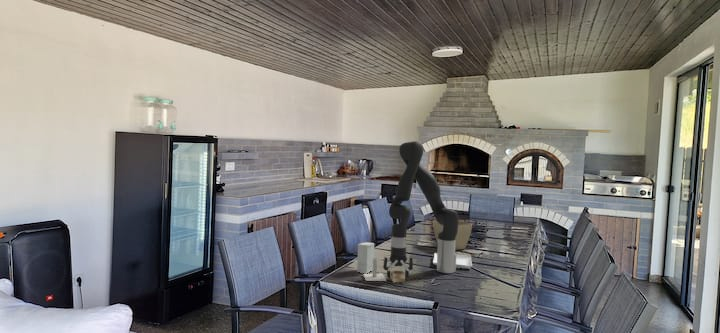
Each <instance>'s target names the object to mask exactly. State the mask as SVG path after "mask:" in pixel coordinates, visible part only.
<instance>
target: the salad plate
mask: <svg viewBox="0 0 720 333" xmlns="http://www.w3.org/2000/svg"><path fill="white" fill-rule="evenodd" d="M432 263H433V265H434V266H436V267H437V252H434V255H433V260H432ZM472 267H473V263H472V256H471V255H462V254H456V269H460V268H462V270H463V269H467V270H468V269H470V268H472Z"/></svg>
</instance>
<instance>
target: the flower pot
mask: <svg viewBox="0 0 720 333" xmlns="http://www.w3.org/2000/svg"><path fill="white" fill-rule="evenodd" d="M432 227H433V232H434V237H435V240H436V243H437V245H438V234H439V233H440V232H442V231H443V225H441V224H439V223H438V222H437V220H432ZM472 229H473V223H471V222H470V223H469V222H466V221H463V220H459V221H458V232H457V235H456V242H455V251H457V250H459V251H460V250H465V249H466V247H467V245H468V242H469V239H470V238H471V237H470V236H471V233H472Z"/></svg>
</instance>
